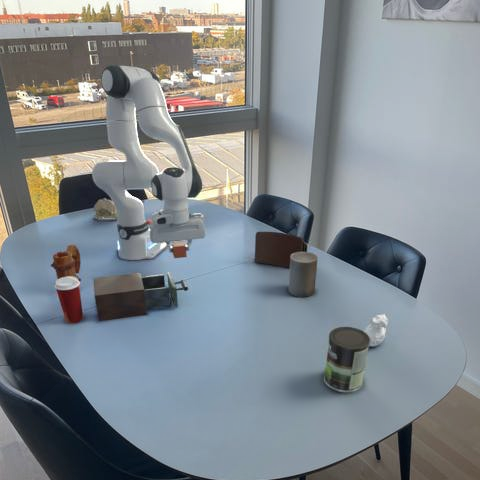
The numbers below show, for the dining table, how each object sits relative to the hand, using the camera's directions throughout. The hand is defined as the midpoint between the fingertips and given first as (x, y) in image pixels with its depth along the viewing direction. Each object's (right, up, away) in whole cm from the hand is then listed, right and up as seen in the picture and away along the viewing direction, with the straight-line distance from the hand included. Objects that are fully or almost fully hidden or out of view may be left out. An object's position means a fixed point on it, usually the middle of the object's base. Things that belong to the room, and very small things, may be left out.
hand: (179, 251), depth 174 cm
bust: (+63, -33, -32) cm, 78 cm away
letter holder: (+40, -2, +21) cm, 45 cm away
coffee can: (+51, -42, -48) cm, 82 cm away
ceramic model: (-47, +28, +70) cm, 88 cm away
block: (0, -1, +1) cm, 2 cm away
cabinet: (-18, -22, -14) cm, 32 cm away
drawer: (-5, -19, -11) cm, 23 cm away
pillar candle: (+45, -15, -2) cm, 48 cm away
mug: (-40, -14, 0) cm, 42 cm away
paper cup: (-32, -26, -20) cm, 46 cm away
